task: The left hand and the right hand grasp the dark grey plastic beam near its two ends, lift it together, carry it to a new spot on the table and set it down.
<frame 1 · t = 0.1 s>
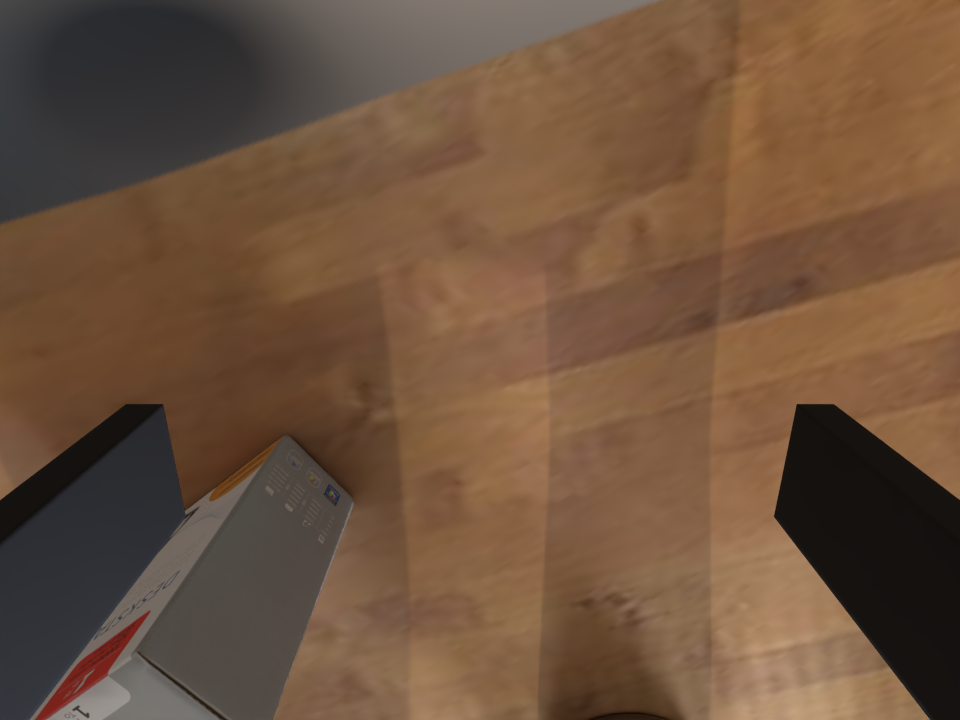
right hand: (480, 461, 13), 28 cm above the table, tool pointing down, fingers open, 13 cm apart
hard drive box: (250, 518, 46), on the table
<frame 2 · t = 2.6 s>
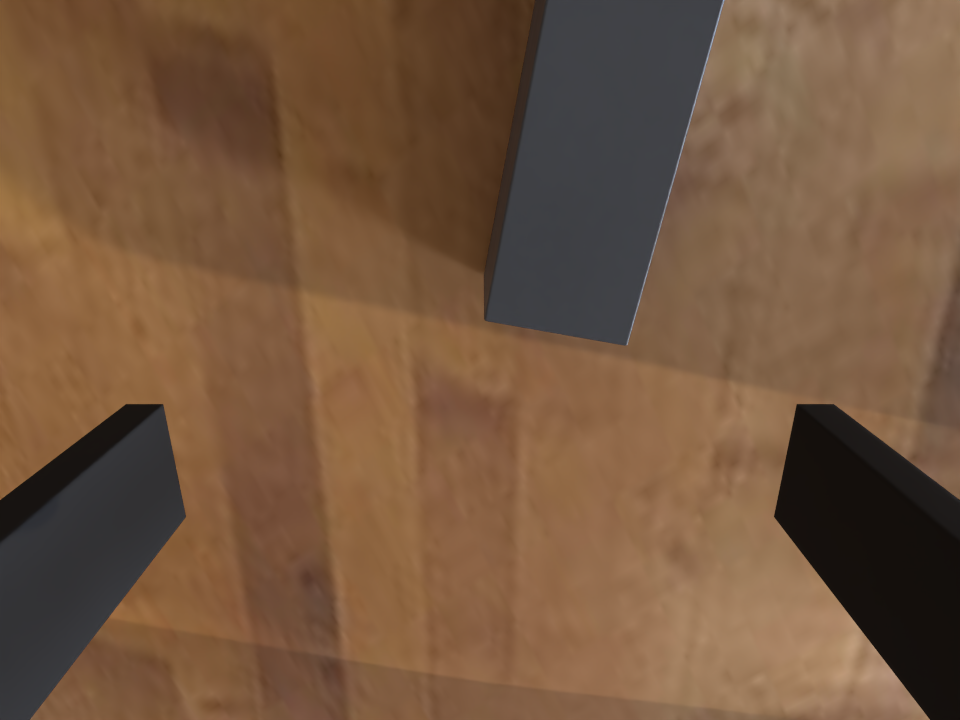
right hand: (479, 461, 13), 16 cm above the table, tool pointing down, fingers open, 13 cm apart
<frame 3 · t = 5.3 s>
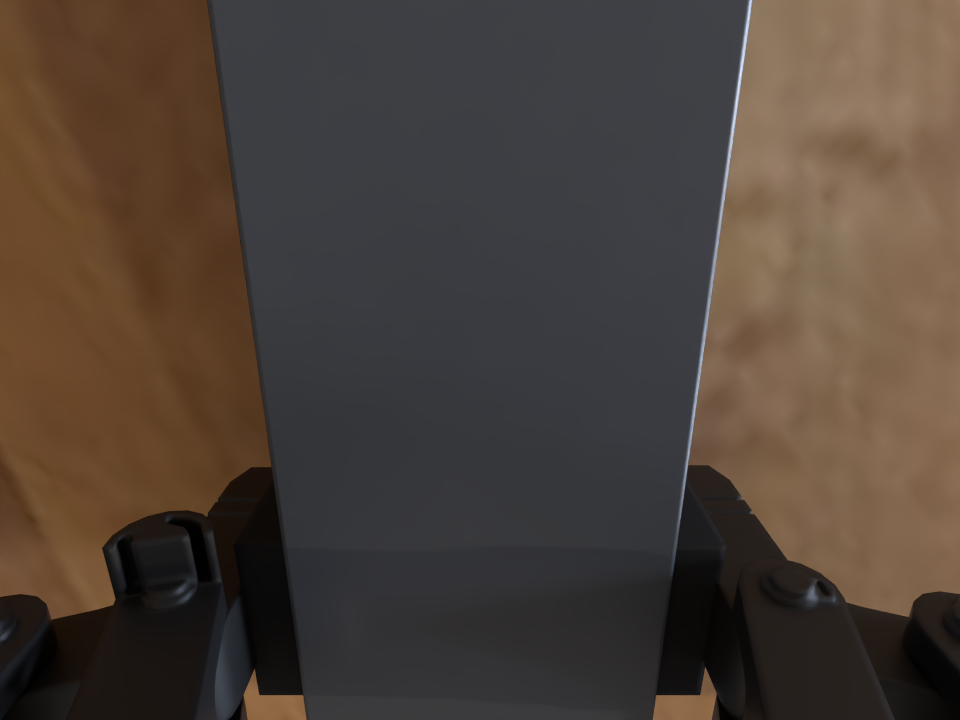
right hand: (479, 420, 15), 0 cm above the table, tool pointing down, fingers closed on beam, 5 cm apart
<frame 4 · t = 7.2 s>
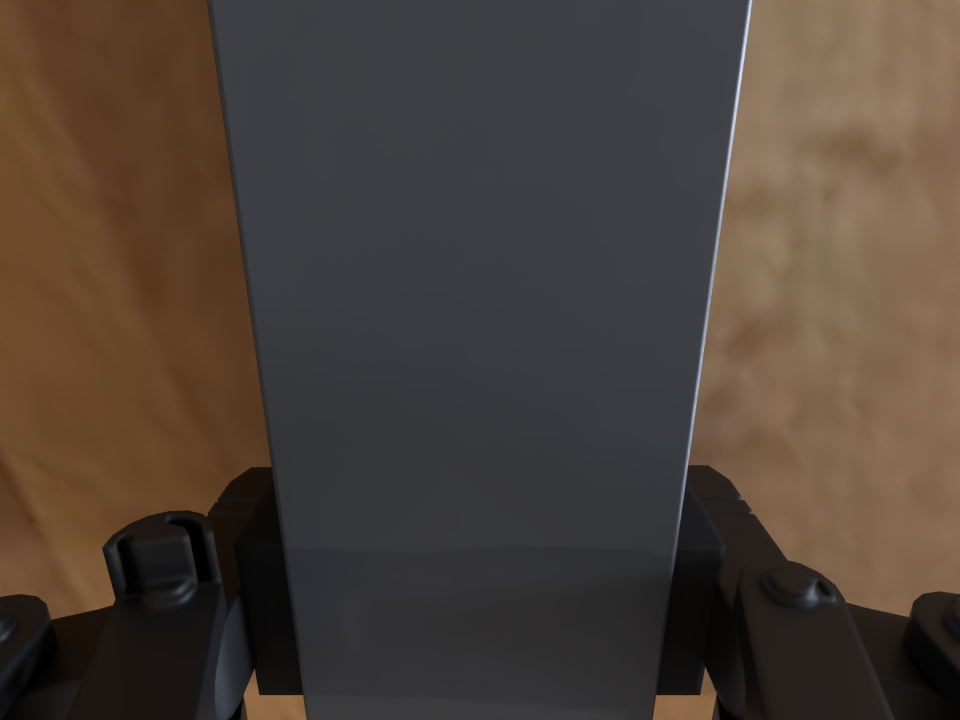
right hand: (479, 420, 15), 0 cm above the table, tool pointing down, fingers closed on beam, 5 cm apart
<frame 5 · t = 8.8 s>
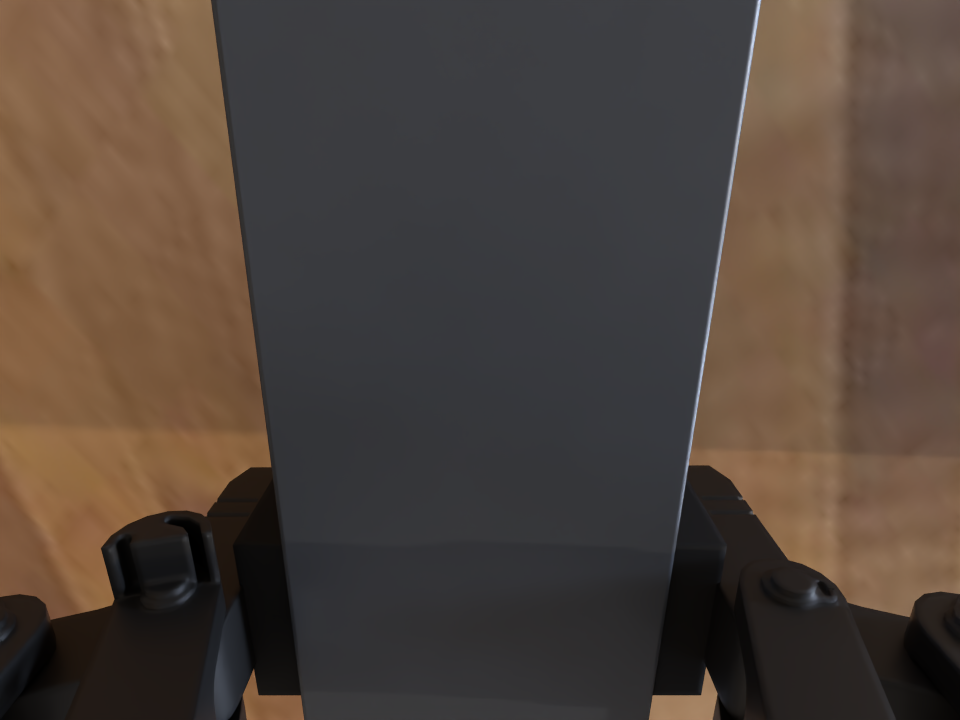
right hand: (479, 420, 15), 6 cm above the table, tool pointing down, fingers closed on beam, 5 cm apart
when the left hand's fingers open (2 cm above the table, at t = 10.6 s): beam drops 1 cm, on the table.
when the right hand's fingers open (2 cm above the table, at t = 10.6 s): beam drops 1 cm, on the table.
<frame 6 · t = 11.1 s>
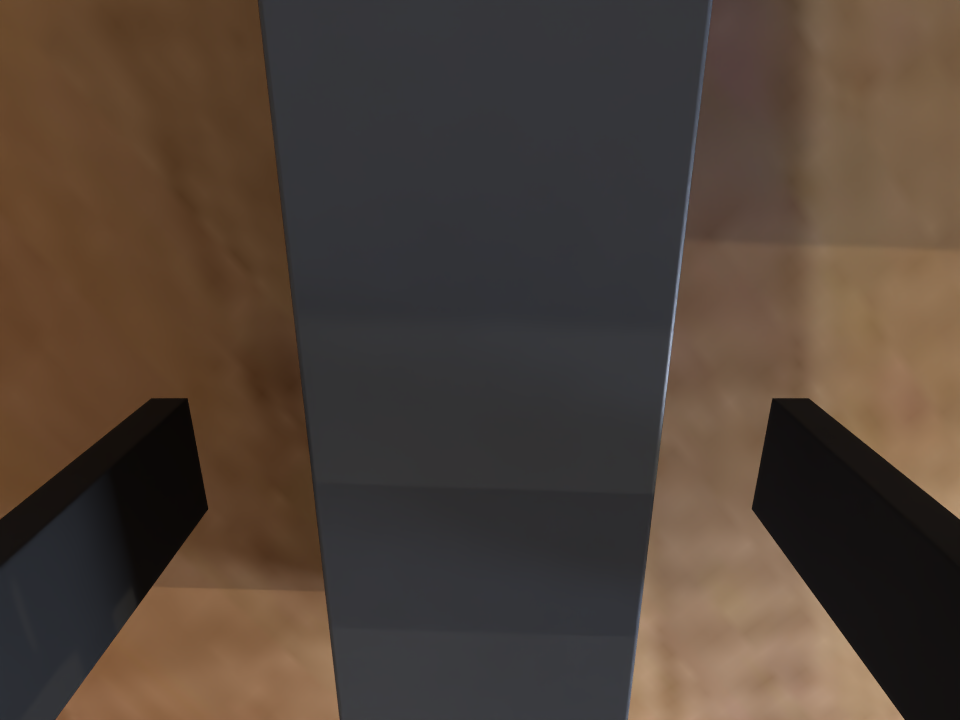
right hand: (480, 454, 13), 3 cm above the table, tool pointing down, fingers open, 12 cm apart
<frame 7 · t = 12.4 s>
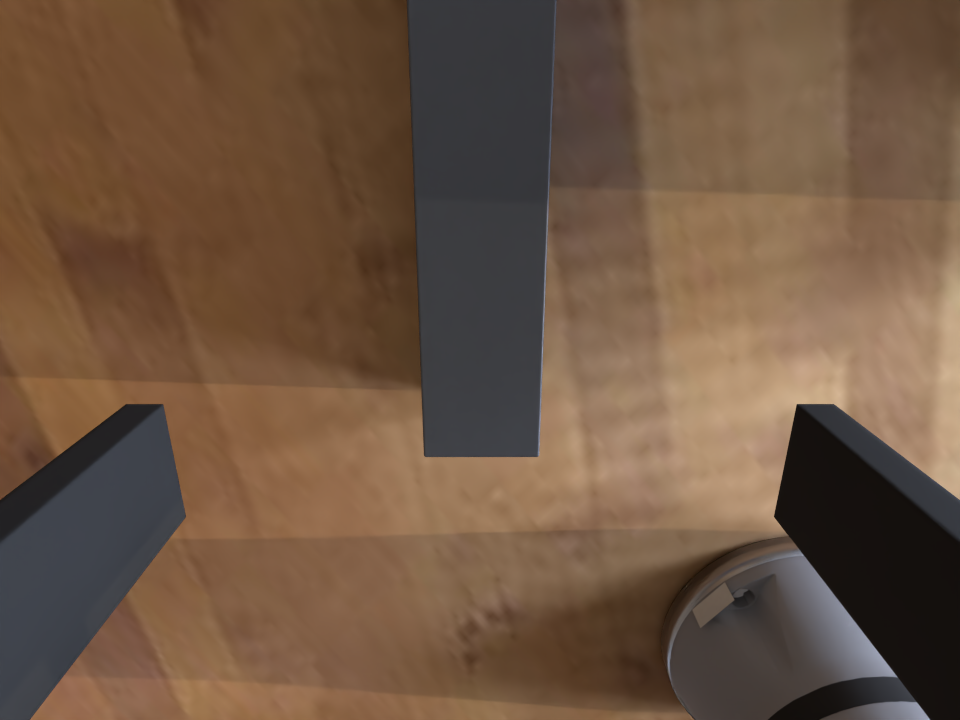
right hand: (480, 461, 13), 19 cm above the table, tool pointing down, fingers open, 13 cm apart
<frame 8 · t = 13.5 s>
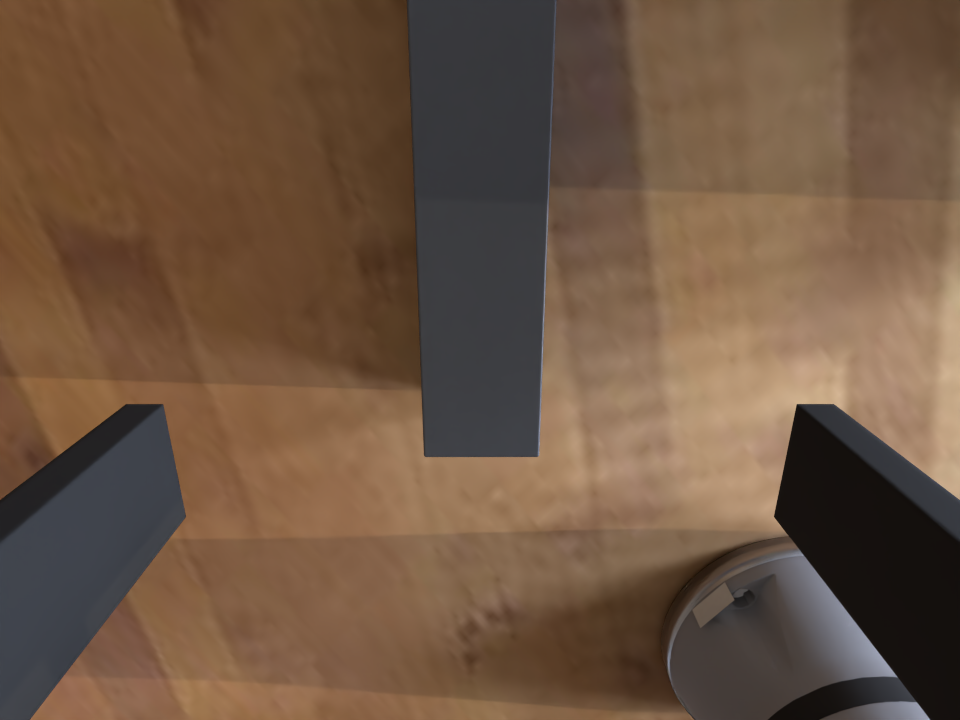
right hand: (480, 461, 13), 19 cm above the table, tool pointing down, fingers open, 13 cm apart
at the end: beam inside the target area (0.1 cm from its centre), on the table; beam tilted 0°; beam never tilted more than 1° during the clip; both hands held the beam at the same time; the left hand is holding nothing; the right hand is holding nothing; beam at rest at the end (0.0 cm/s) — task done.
